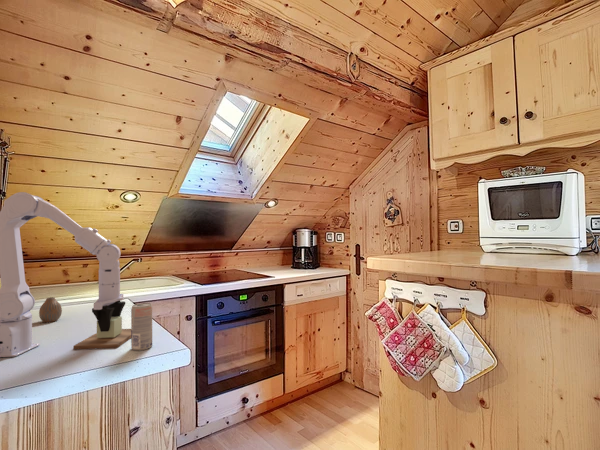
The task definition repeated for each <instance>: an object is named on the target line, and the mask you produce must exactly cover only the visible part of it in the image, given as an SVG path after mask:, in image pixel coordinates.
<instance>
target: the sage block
mask: <svg viewBox="0 0 600 450" xmlns="http://www.w3.org/2000/svg"><path fill="white" fill-rule="evenodd" d="M122 318H123V316H121V315H120V317H111V321H110V328H109V331H104V332H101V331H100V327H99V324H98V321H97V320H96V333H97V338H110V337H116V336H117V335H119V334H120V333H122V329H123V328H122V327H123V325H122V324H123V323H122V322H123V321H122V320H123V319H122Z"/></svg>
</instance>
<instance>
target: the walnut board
mask: <svg viewBox="0 0 600 450" xmlns="http://www.w3.org/2000/svg"><path fill="white" fill-rule="evenodd" d="M130 339H131V328H122V333H120V334H119V335H117V336H116V337H110V338H97V332H96V333H94V334H92V335H90V336H88V337H87V338H85V339H83V340H81V341H80V342H78V343H76V344H74V345H73V348H72V349H73V350H92V349H95V348H97V349H116V348H117V349H118V348H120V347H121V346H122V345H123V344H125V343H127V342H128V341H129V340H130ZM95 350H96V349H95Z"/></svg>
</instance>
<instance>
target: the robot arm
mask: <svg viewBox="0 0 600 450" xmlns="http://www.w3.org/2000/svg"><path fill="white" fill-rule="evenodd" d="M38 217H39V218H45V219H48V220H50V221H52V222H53V223H55V224H57V225H58V226H59V227H61V228H63V229H64V230H65V231H67V232H68V233H70V234H71V235H73V236H74V243H76V244H77V245H79V246H80V247H82V248H83V249H84V250H86V251H88V252H89V253H90V254H92V255H93V256H94V255H95V256H96V259H97V261H99V264H98V299H97V300H96V301H95V302H93V308H92V309H91V312H92V313H93V315H94V316H95V318H96V322H97V321H98V324H99V327H100V331H101V332H104V331H109V328H110V321H111V317H121V314H122V311H123V309H124V307H125V306H126V301H124V300H125V298H124V293H121V267H120V264H121V263H120V258H121V254H122V253H121V249H120V247H119V246H117V244H114V243H111V242H112V240H111V239H107V238H105V237H104V236H102V235H101V234H100V233H98V232H99V229H97V228H92V227H90V226H88V227H82V226H81V225H80V224H78V222H76V221H75V220H73V219H72V218H71V217H70V216H69V215H67V214H66V213H65V212H64V211H62V210H61V209H60V208H59V207H57V206H56V205H54V204H52V203H50V202H49V201H47V200H44V198H42V197H41V196H38V195H33V194H31V193H28V192H24V191H20V192H16V193H13V194H11V195H10V196H8V198H6V199H5V200H4V201H3V206H2V208H1V209H0V285H1V287H0V358H9V357H11V358H12V357H13V358H14V357H17V356H19V355H21V354H24V353H26V352H28V351H30V350H32V349H34V348H36V347H37V348H38V346H40V345H41V344H40V343H39V342H38V343H33V314H32V313H31V310H32V309H33V308H34V306H35V303H36V300H35V297H34V296H33V294H32V293H31V291H30V287H29V285H28V284H27V282H26V274H25V265H24V257H23V248H22V240H21V238H22V237H21V231H20V228H21V227H22V226H23V225H25V224H26V223H28V221H30V220H32V219H35V218H38Z"/></svg>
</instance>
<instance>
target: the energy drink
mask: <svg viewBox="0 0 600 450" xmlns="http://www.w3.org/2000/svg"><path fill="white" fill-rule="evenodd" d="M130 312H131V315H130V317H131V320H130V321H131V323H130V324H131V327H130V329H131V341H130V342H131V347H130V348H131V350H132V351H134V350H135V352H140V351H139V350H141V351H146V350H149V349H151V348H152V347H153V306H152V303H150V302H149V303H148V302H143V303H136V304H132V305H131V311H130ZM150 347H151V348H150ZM148 348H149V349H148ZM145 349H146V350H145Z"/></svg>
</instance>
